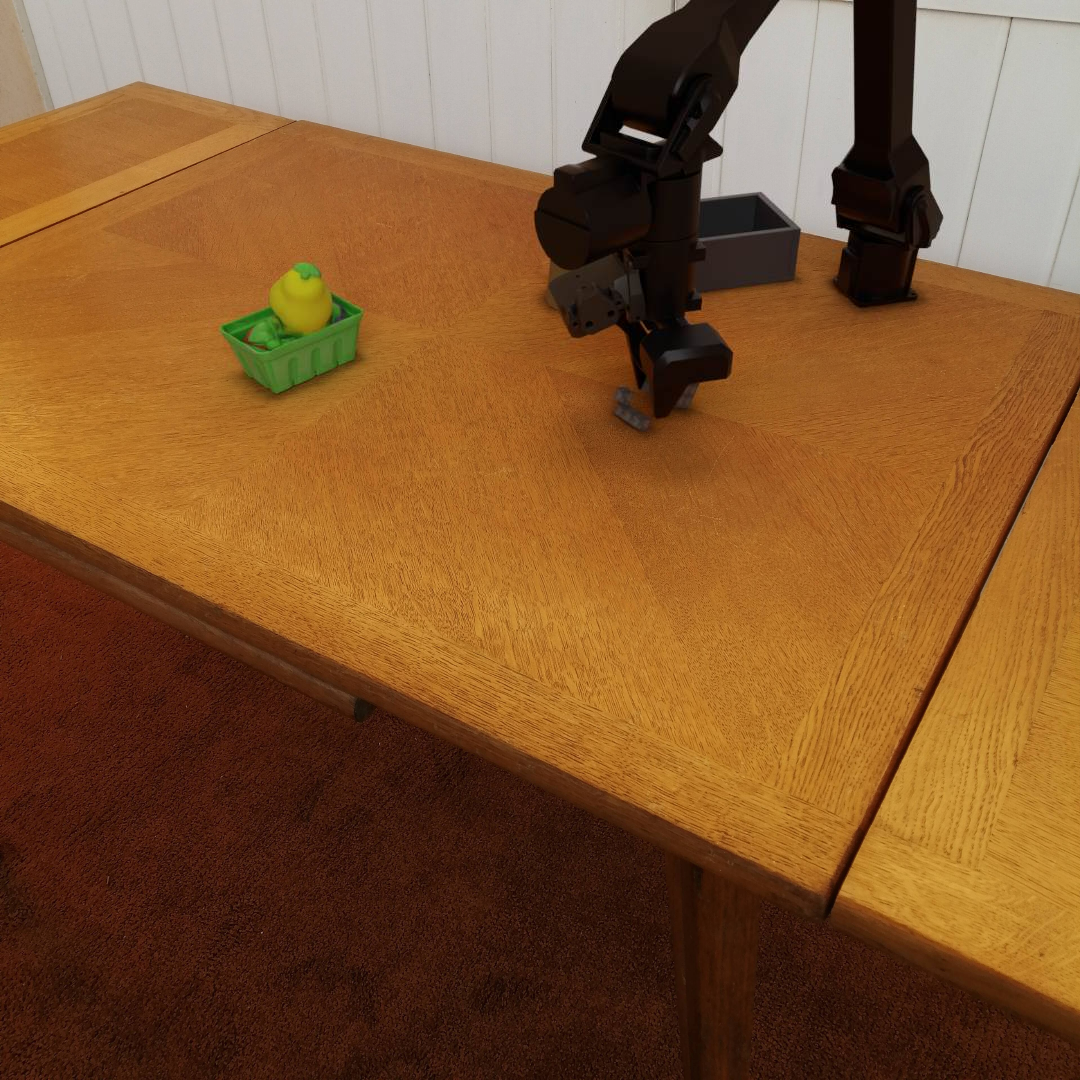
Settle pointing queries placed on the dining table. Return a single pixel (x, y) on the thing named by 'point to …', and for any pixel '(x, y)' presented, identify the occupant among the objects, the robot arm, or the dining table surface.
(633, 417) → the building blocks
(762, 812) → the dining table surface
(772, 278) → the bin
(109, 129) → the dining table surface
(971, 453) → the dining table surface
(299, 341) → the fruit basket
